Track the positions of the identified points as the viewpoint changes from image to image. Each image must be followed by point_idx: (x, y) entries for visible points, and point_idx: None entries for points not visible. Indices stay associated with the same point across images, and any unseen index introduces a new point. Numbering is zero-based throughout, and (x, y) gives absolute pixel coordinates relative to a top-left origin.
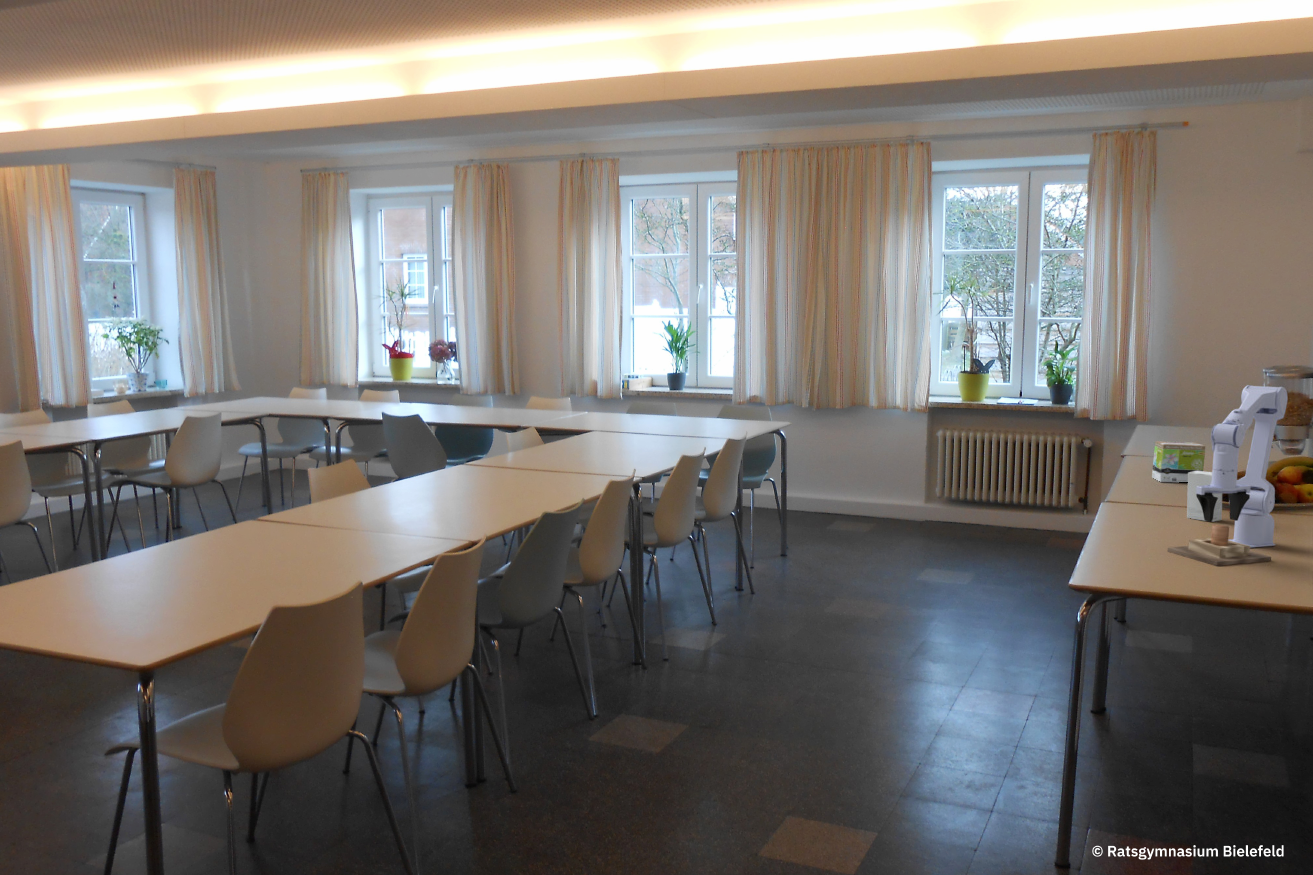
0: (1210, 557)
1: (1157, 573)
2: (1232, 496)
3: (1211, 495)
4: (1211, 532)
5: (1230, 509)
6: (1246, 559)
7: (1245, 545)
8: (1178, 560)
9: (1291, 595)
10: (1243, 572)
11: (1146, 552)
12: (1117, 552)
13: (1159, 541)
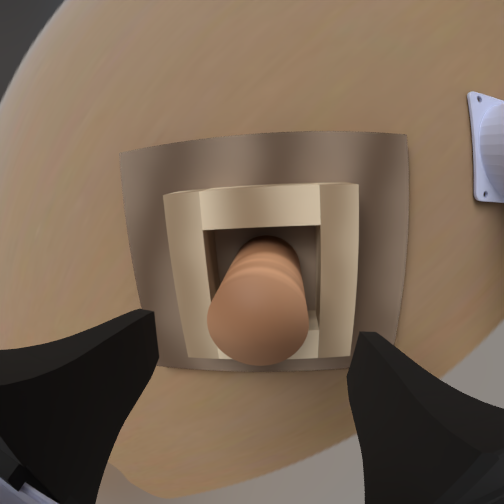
0: (173, 321)
1: (20, 343)
2: (422, 488)
3: (45, 494)
4: (223, 279)
5: (384, 373)
6: (281, 370)
7: (339, 345)
8: (91, 275)
9: (173, 489)
10: (190, 416)
11: (61, 160)
12: (10, 154)
13: (218, 8)
